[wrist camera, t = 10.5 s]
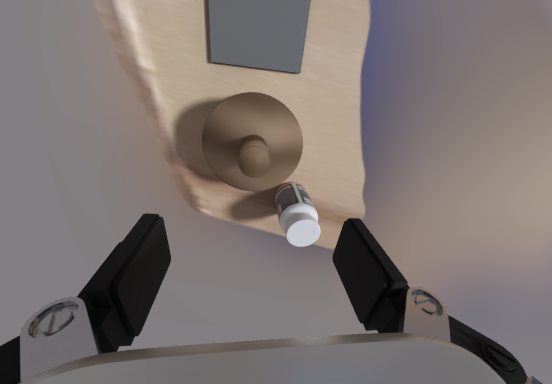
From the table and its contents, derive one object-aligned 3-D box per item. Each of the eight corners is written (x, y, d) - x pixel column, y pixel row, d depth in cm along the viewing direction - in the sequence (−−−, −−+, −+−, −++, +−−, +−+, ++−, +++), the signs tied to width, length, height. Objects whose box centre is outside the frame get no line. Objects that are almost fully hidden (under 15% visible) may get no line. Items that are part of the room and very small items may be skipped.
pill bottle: (274, 210, 37) (280, 250, 28) (274, 181, 34) (282, 217, 25) (305, 208, 37) (321, 248, 29) (308, 180, 35) (327, 215, 26)
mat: (206, -73, 20) (205, -77, 19) (316, -49, 21) (318, -52, 21) (211, 61, 25) (211, 61, 24) (299, 73, 27) (300, 73, 26)
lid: (200, 86, 22) (184, 89, 17) (308, 98, 23) (325, 104, 18) (206, 185, 28) (196, 211, 22) (293, 189, 29) (302, 214, 24)
